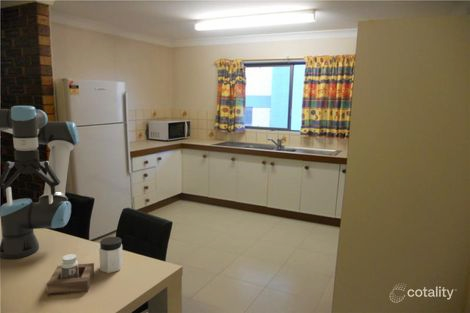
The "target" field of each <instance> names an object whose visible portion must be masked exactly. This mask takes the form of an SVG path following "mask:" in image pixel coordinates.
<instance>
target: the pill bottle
mask: <svg viewBox="0 0 470 313" xmlns="http://www.w3.org/2000/svg"><path fill="white" fill-rule="evenodd" d="M61 259H62V261H61V262H62V263H61V265H60V266H61V271H62V279H70V278H79V266H78V264H79V261H78V260H77V259H78V258H77V255H76V254H75V253H73V254H71V253H69V254H65V255H64V256H62V258H61Z"/></svg>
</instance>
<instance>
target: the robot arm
mask: <svg viewBox="0 0 470 313" xmlns="http://www.w3.org/2000/svg"><path fill="white" fill-rule="evenodd" d="M48 119H49V118H48V115H47V113H46V112H44V111H43V110H41V109H37V108H36V107H35V106H33V105H14V106H11V108H0V131H1V132H5V133H9V134H11V135H12V139H13V148H14V151H13V152H14V153H13V154H14V161H13V162H12V161H10V160H8V161H6V162H5V163H4V169H3V171H2V173H1V175H0V188H1V189H2V192H3V194H2V195H3V197H4V198H6V203H3V204H2V205H1V206H0V227H1V240H0V258H1V259H6V260H12V259H13V260H15V259H21V258H25V257H28V256H30V255H33V254H34V253H36V252H38V251H39V248H40V243H39V240H38V238H37V236H36V234H35V231H34V230H38V229H57V228H59V229H60V228H64V227H65V226H67V224H68V222H69V220H70V218H71V214H72V203H71V202H70V201H69V198H68V197H67V196H66V186H67V179H68V170H69V163H70V156H71V155H70V154H71V151H73V150H74V149H75V146H76V145H79V141H80V137H79V131H78V126H77V125H76V123H75V122H73V121H67V120H66V121H57V120H55V121H49V120H48ZM39 145H47V147H48V148H49V150H50V151H49V157H48V160H46V161H41V160H40V153H39V152H40V151H39ZM13 167H15V169H16V170H15V172H14V173H13V174H12V175H11V177H10V178H9V179H8V180H7V181H6V179H7V176H8V174H9V173H10V170H11V169H12V168H13ZM40 167H43V168H44V170H45V171H46V174H45V172H44V171H43V170H42V169H41V168H40ZM20 174H22V175H27V174H28V175H33V174H35V175H36V176H38V177H39V178H40V179H41V180H42V181H44V182H45V183H44V184H45V185H44V188H43V189H44V190H43V194H42V195H41V196H39V198H38V202H35V201H34V202H33V200H32V199H31V198H29V197H28V198H18V199H13V196H12V195H13V194H12V193H13V192H12V187H11V186H10V185H11V184H12V183H13V182H14V180H16V178H17V177H18V176H19V175H20ZM5 181H6V182H5Z"/></svg>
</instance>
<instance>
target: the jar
mask: <svg viewBox="0 0 470 313" xmlns="http://www.w3.org/2000/svg"><path fill="white" fill-rule="evenodd" d="M98 252H99V270H100V271H101V272H103V273H107V274H109V273H113V272H114V273H115V272H118V271H120V270H121V268H122V267H123V265H124V264H123V261H124V260H123V244H122V238H121V237H119V236H108V237H104V238H101V240H100V241H99V250H98Z"/></svg>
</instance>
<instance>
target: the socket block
mask: <svg viewBox="0 0 470 313" xmlns="http://www.w3.org/2000/svg"><path fill="white" fill-rule="evenodd" d="M78 266H79V278H70V279H62V271H61V265H57V266H56V267H55V270H54V272H52V274H51V276H50V278H49V280H48V281H47V283H46V289H47V290H46V291H47V297H49V296H50V297H51V296H52V297H53V296H57V295H58V296H61V295H69V294H71V293H73V294H82V292H84V293H88V291H89V289H90V287H91V285H92V280H93V278H94V275H95V263H94V262H93V263H92V262H91V263H78ZM71 295H72V294H71Z"/></svg>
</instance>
